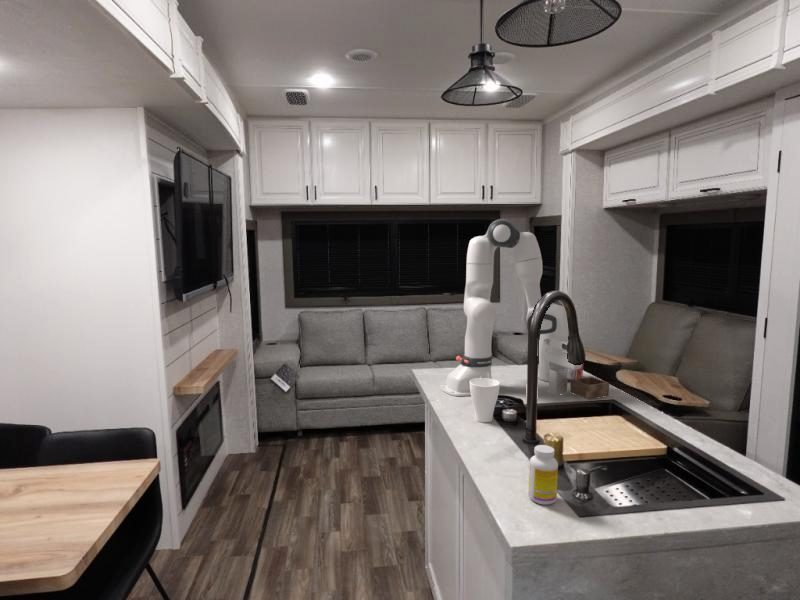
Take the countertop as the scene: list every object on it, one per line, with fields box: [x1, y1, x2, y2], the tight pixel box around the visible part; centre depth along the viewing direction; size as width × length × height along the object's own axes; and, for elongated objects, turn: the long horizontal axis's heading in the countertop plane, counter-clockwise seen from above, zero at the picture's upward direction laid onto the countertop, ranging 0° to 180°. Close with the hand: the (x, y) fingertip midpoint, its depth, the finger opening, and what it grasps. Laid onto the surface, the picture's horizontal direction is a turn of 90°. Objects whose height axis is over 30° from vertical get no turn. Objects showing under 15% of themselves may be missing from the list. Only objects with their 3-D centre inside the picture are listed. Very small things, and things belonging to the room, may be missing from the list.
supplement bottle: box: [528, 444, 559, 506], centre depth 122 cm, size 7×7×13 cm
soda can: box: [566, 363, 584, 382], centre depth 224 cm, size 7×7×13 cm
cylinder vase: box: [538, 333, 566, 383], centre depth 226 cm, size 12×12×25 cm
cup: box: [470, 378, 501, 423], centre depth 175 cm, size 10×10×14 cm
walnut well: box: [569, 376, 610, 400], centre depth 205 cm, size 11×10×6 cm
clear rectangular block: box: [548, 368, 569, 396], centre depth 205 cm, size 6×4×10 cm, turn 114°
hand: (559, 375), depth 205 cm, fingers open, 8 cm apart
